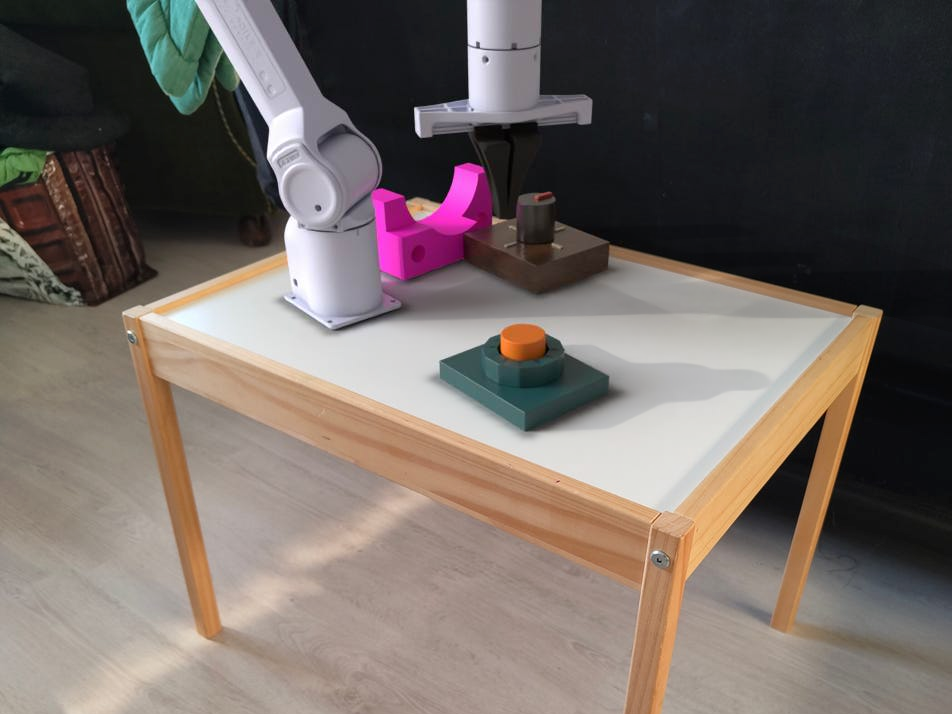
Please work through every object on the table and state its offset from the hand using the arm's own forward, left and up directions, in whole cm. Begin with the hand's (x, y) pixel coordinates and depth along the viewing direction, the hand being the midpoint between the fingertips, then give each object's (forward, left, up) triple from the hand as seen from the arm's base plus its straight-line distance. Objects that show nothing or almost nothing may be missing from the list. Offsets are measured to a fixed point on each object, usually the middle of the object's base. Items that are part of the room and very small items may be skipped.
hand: (503, 215), depth 78 cm
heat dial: (-9, +12, -7) cm, 16 cm away
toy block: (-18, +6, -10) cm, 22 cm away
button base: (+10, -6, -10) cm, 16 cm away
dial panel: (-9, +12, -10) cm, 18 cm away
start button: (+10, -6, -7) cm, 14 cm away
